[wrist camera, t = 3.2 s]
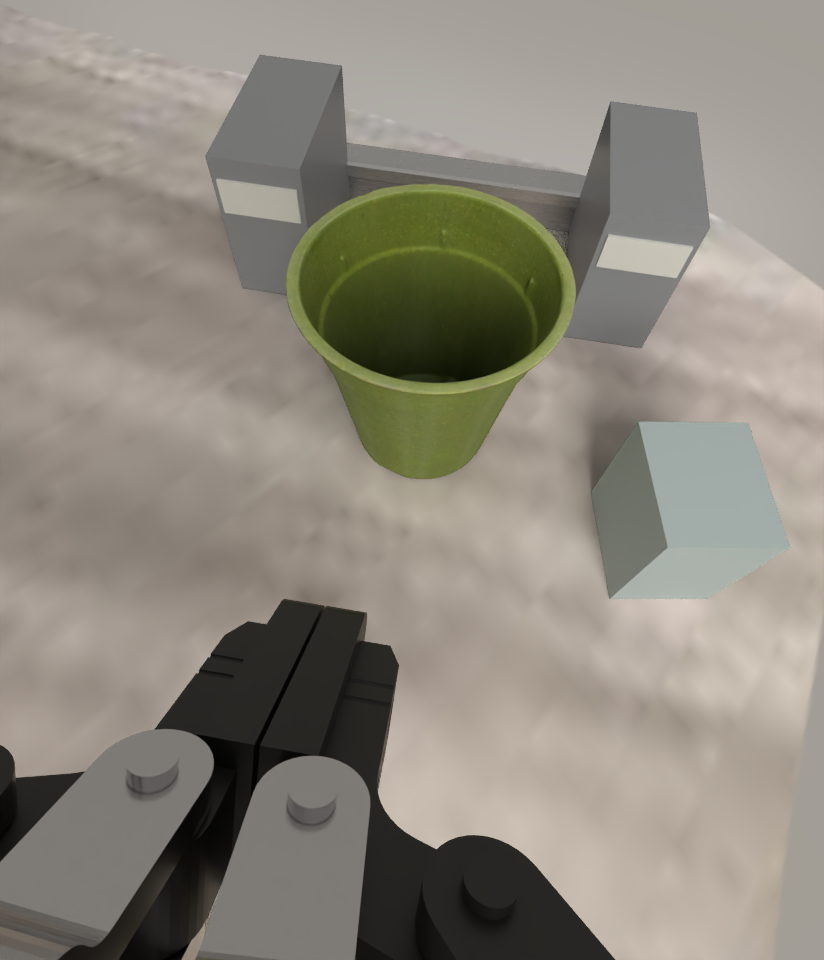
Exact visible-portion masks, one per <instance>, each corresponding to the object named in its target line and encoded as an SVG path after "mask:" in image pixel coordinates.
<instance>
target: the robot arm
mask: <svg viewBox="0 0 824 960" xmlns="http://www.w3.org/2000/svg"><path fill="white" fill-rule="evenodd" d="M366 623H367V613H365V612H359V611H353V610H348V609H342V608H336V607H330V606H327V607H326V608H325V606H323V605H318V604H312V603H306V602H300V601H294V600H288V599H283V600H282V601H281V603H280V604H279V606H278V608H277V609H276V611H275V612H274V614H273V615H272V617H271V619H270V620H269V622H268V623H267V625H266V624H260V623H255V622H249V621H248V622H246V623H245V624H243V625H241V626H239V627H238V628H236V629H234V630H233V631H231V632H229V633H228V634H226V635H225V636H224V637H223V638H222V640H221V641H220V642H219V644H218V645H217V646H216V648H215V649H214V650H213V652H212V653H211V656H210V658H209V657H208V658H207V660H206V661H205V662H204V664H203V665H202V666H201V668H200V669H199V673H198V674H197V673H196V675H195V676H194V677H193V679H192V680H191V681H190V683H189V684H188V685H187V687H186V688H185V689H184V691H183V692H182V693H181V695H180V696H179V697H178V699H177V700H176V701H175V703H174V704H173V705H172V707H171V708H170V709H169V711H168V712H167V713H166V715H165V716H164V717H163V719H162V720H161V721H160V723H159V724H158V726H157V727H156V728H155V730H151V731H145V732H141V733H138V734H135V735H132V736H130V737H127V738H125V739H123V740H121V741H119V742H117V743H116V744H114V745H113V746H111V747H110V748H108V749H107V750H106V751H105V752H104V753H103V754H102V755H100V756H99V758H98V759H97V760H96V761H95V762H94V763H93V764H92V765H91V766H90V767H89V768H88V769H87V770H86V771H85V772H79V773H71V774H60V775H47V776H35V777H22V778H16V777H15V763H14V759H13V756H12V755H11V753H10V752H9V751H8V750H7V749H6V748H4V747H3V746H1V745H0V960H615V959H614V958H613V957H612V955H611V954H610V953H609V952H608V951H607V949H606V948H605V947H604V946H603V945H602V944H601V942H600V941H599V940H598V939H597V938H596V937H595V935H594V934H593V933H592V932H591V931H590V929H589V928H588V927H587V926H586V925H585V924H584V922H583V921H582V920H581V919H580V918H579V917H578V915H577V914H576V913H575V912H574V911H573V909H572V908H571V907H570V906H569V905H568V904H567V902H566V901H565V900H564V899H563V898H562V896H561V895H560V894H559V893H558V892H557V891H556V889H555V888H554V887H553V886H552V885H551V884H550V882H549V881H548V880H547V879H546V878H545V876H544V875H543V874H542V873H541V872H540V871H539V869H538V868H537V867H536V866H535V865H534V864H533V863H532V862H531V861H530V860H529V859H528V858H527V857H526V856H525V855H524V854H522V853H521V852H520V851H519V850H517V849H515V848H514V847H512V846H510V845H509V844H507V843H504V842H502V841H500V840H497V839H494V838H490V837H486V836H479V835H468V836H462V837H457V838H455V839H452V840H449V841H447V842H446V843H444V844H443V845H441V846H440V847H439V848H438V849H437V850H436V849H434V848H433V847H431V846H429V845H427V844H425V843H423V842H421V841H419V840H417V839H415V838H414V837H412V836H410V835H409V834H407V833H406V832H404V831H403V830H402V829H401V828H399V827H398V826H397V825H396V824H395V823H394V822H393V821H392V820H391V819H390V817H389V816H388V814H387V813H386V812H385V810H384V808H383V806H382V804H381V802H380V799H379V795H378V788H379V782H380V777H381V772H382V766H383V761H384V755H385V750H386V745H387V739H388V733H389V726H390V720H391V713H392V707H393V700H394V694H395V687H396V681H397V674H398V668H399V664H398V662H397V660H396V658H395V655H394V653H393V651H392V649H391V646H388V645H382V644H377V643H371V642H365V641H364V638H365V631H366ZM221 884H222V885H221ZM220 887H221V888H220ZM219 889H220V891H219ZM218 891H219V894H218ZM217 894H218V897H217V900H216V903H215V906H214V908H213V911H212V914H211V917H210V920H209V923H208V926H207V929H206V932H205V921H206V919H207V917H208V915H209V912H210V910H211V908H212V905H213V903H214V901H215V898H216V896H217Z"/></svg>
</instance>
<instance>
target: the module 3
mask: <svg viewBox="0 0 824 960" xmlns="http://www.w3.org/2000/svg"><path fill="white" fill-rule="evenodd" d="M591 496H592V502H593V508H594V513H595V519H596V525H597V531H598V536H599V542H600V548H601V553H602V559H603V565H604V571H605V576H606V582H607V588H608V593H609V599H708V598H710V597H711V596H713V595H714V594H716V593H718V592H719V591H721V590H723V589H724V588H726V587H727V586H729V585H731V584H732V583H734V582H736V581H737V580H739V579H740V578H742V577H744V576H745V575H747V574H749V573H750V572H752V571H753V570H755V569H757V568H758V567H760V566H762V565H763V564H765V563H766V562H768V561H770V560H771V559H773V558H775V557H776V556H778V555H779V554H781V553H783V552H784V551H786V550H788V549H789V548H790V545H789V542H788V539H787V536H786V533H785V530H784V527H783V524H782V521H781V518H780V515H779V512H778V509H777V507H776V504H775V501H774V498H773V495H772V492H771V489H770V486H769V483H768V480H767V477H766V474H765V471H764V468H763V465H762V462H761V459H760V456H759V453H758V450H757V448H756V445H755V442H754V439H753V436H752V433H751V430H750V427H749V424H748V423H728V422H638V423H637V425H636V426H635V428H634V429H633V430H632V432H631V433H630V435H629V436H628V438H627V439H626V441H625V442H624V444H623V445H622V447H621V448H620V450H619V451H618V453H617V454H616V456H615V457H614V459H613V460H612V462H611V463H610V465H609V466H608V468H607V469H606V471H605V472H604V474H603V475H602V477H601V478H600V480H599V481H598V483H597V484H596V486H595V487H594V489H593V490H592V491H591Z"/></svg>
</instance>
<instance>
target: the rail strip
mask: <svg viewBox="0 0 824 960" xmlns="http://www.w3.org/2000/svg"><path fill="white" fill-rule="evenodd" d="M347 159H348V162H347V165H346V166H347V176H349V191H350V200H351V199H353V198H356V197H358V196H362V195H365V194H368V193H370V192H372V191H375V190H378V189H383V188H387V187H394V186H402V185H410V184H421V185H425V184H439V185H451V186H458V187H464V188H468V189H472V190H476V191H480V192H483V193H486V194H489V195H492V196H494V197H497V198H499V199H502V200H504V201H507V202H509V203H510V204H512V205H514V206H516V207H518V208H520V209H521V210H523V211H524V212H526V213H528V214H529V215H530V216H532V217H533V218H534V219H535V220H537V221H538V222H539V223H541V224H542V225H543V226H544V227H545V228H547V229H554V230H561V231H568V232H569V229H570V226H571V222H572V219H573V216H574V213H575V210H576V208H577V207H578V204H579V201H580V198H581V192H582V188H583V185H584V182H585V179H586V176H582V175H574V174H567V173H560V172H553V171H546V170H538V169H531V168H524V167H517V166H510V165H502V164H495V163H488V162H481V161H473V160H466V159H459V158H452V157H445V156H437V155H430V154H423V153H416V152H409V151H401V150H394V149H387V148H380V147H373V146H365V145H358V144H351V143H347Z"/></svg>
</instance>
